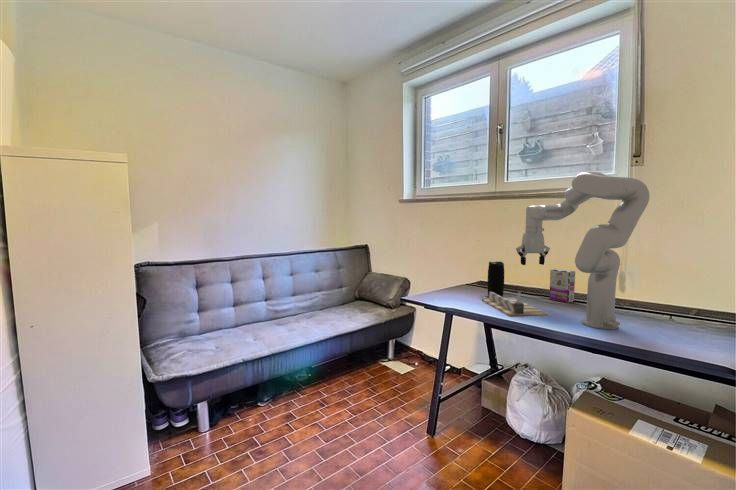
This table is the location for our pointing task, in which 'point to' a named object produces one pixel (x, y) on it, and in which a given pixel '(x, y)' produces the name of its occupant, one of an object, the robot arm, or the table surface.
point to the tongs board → (512, 306)
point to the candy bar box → (562, 285)
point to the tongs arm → (518, 297)
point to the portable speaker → (496, 278)
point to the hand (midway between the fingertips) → (532, 264)
